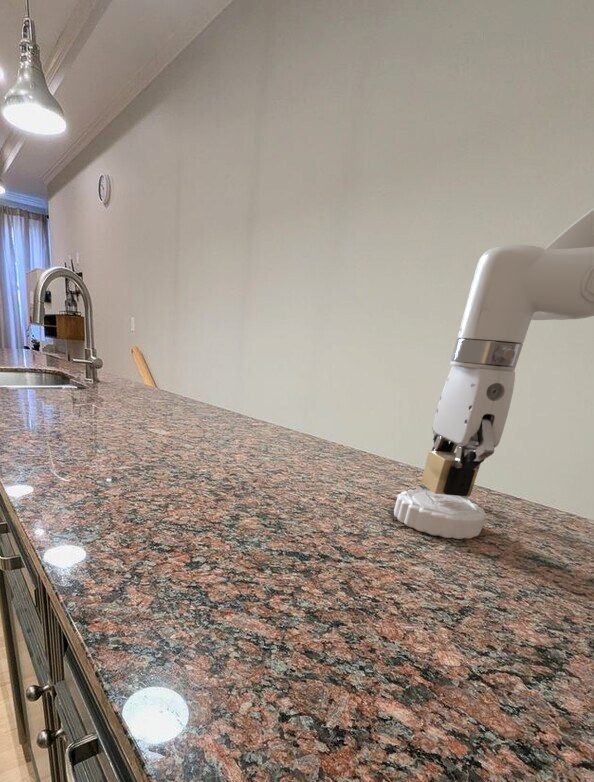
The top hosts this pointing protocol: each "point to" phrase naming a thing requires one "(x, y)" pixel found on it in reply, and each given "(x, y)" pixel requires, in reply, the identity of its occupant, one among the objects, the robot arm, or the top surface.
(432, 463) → the block
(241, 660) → the top surface
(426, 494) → the mooncake
